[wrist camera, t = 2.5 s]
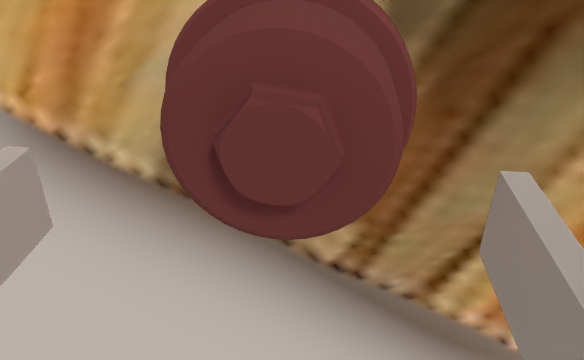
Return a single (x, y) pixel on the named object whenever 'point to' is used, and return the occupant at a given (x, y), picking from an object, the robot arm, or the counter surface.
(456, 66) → the counter surface
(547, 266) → the robot arm
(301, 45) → the mechanical component
